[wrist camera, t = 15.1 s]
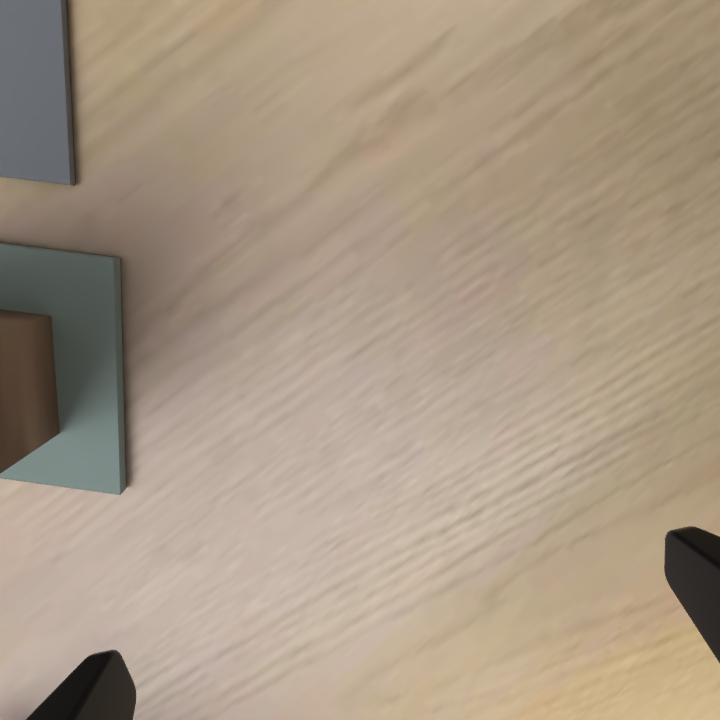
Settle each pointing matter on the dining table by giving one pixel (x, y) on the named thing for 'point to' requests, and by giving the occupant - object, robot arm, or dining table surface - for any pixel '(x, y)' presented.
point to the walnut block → (26, 385)
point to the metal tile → (35, 92)
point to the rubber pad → (74, 363)
